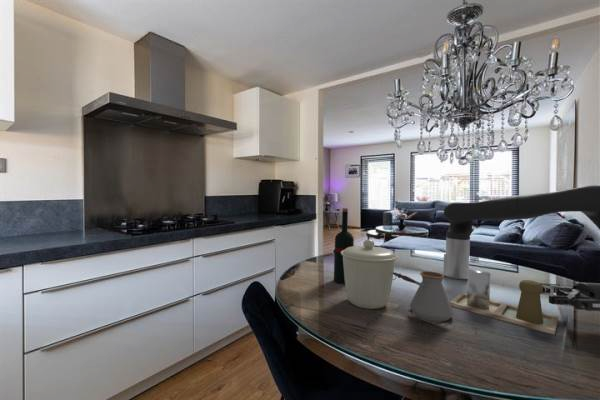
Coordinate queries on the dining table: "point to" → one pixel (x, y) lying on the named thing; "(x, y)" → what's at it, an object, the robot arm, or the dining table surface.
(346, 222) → the wine bottle
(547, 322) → the wooden tray
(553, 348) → the dining table surface
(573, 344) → the dining table surface
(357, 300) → the canister
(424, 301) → the coffee pot
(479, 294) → the clear glass tumbler
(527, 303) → the olive brown pepper mill
